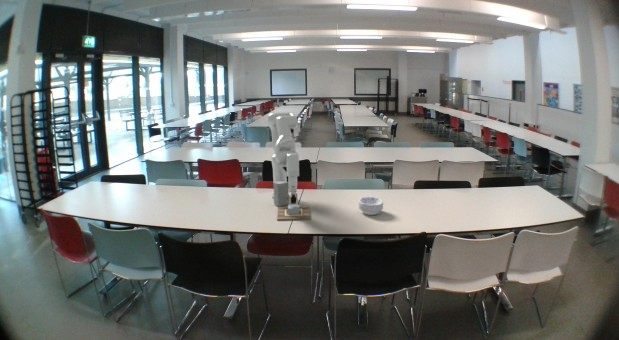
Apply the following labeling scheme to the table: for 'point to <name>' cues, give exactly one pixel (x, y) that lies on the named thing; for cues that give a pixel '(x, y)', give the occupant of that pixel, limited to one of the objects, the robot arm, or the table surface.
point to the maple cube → (290, 198)
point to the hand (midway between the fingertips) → (293, 201)
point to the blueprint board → (282, 212)
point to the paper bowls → (370, 205)
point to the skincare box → (281, 193)
